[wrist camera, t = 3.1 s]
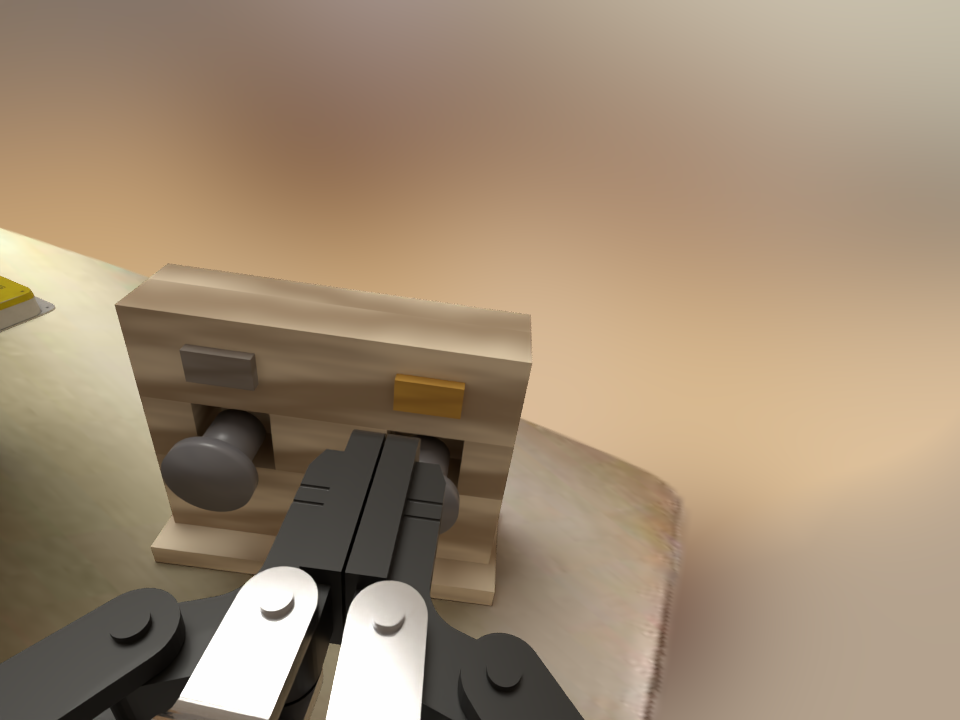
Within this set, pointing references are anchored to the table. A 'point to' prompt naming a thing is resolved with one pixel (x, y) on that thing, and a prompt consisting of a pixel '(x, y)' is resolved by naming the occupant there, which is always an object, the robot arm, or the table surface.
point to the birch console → (326, 400)
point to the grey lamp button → (217, 463)
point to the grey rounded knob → (439, 454)
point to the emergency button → (19, 304)
